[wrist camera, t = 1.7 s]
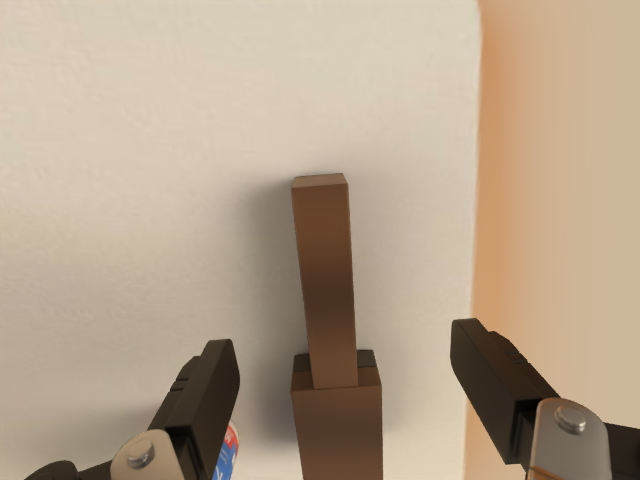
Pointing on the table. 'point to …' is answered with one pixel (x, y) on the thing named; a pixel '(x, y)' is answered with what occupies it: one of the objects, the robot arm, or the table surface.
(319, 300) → the brush
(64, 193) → the table surface
